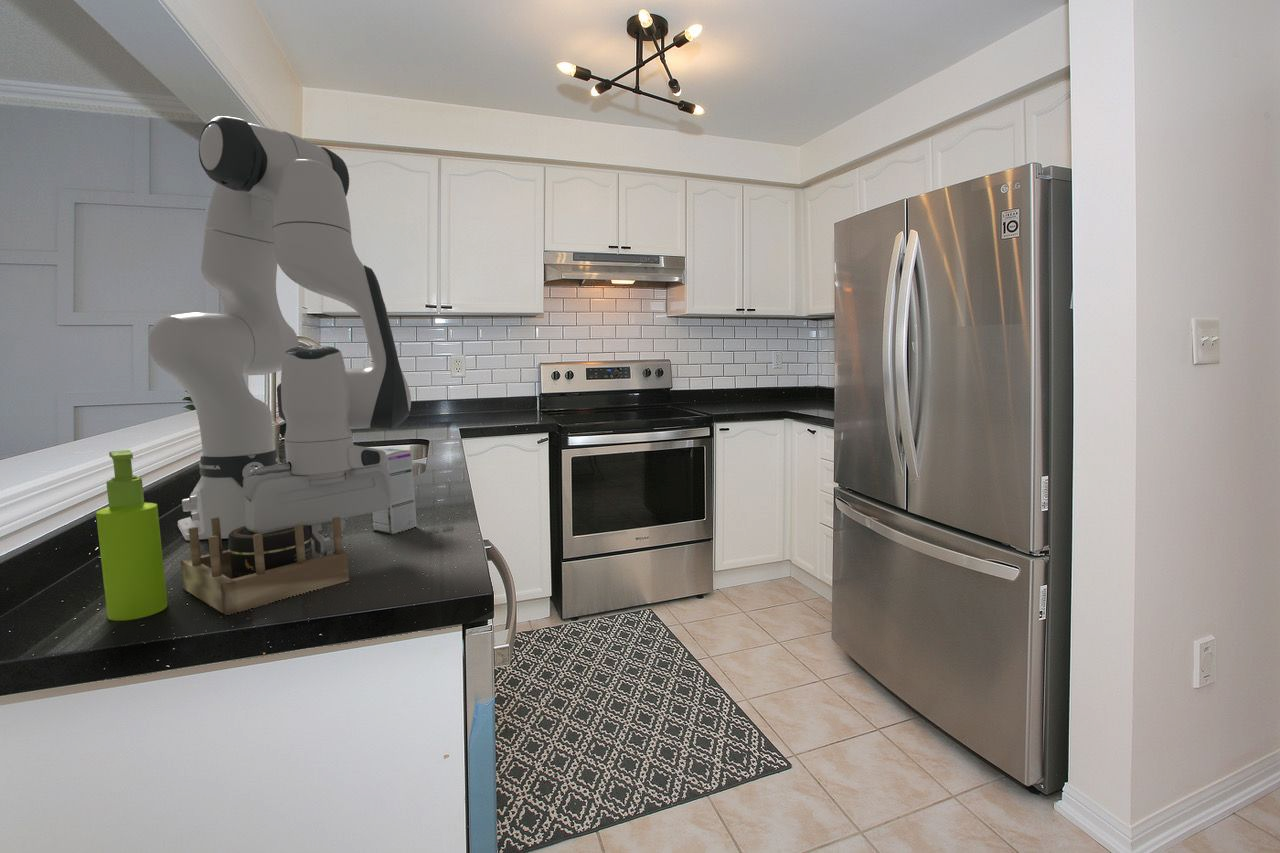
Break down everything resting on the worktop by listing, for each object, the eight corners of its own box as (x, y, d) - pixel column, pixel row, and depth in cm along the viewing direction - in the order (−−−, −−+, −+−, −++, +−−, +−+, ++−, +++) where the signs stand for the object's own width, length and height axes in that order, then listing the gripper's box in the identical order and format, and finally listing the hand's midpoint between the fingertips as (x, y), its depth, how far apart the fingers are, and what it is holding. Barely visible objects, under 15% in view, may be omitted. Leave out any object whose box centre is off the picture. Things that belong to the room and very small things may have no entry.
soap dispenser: (162, 596, 84) (147, 446, 82) (170, 611, 79) (154, 451, 77) (105, 609, 80) (87, 451, 78) (109, 625, 75) (91, 457, 73)
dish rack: (183, 588, 87) (177, 524, 86) (299, 560, 99) (294, 502, 98) (227, 615, 78) (220, 543, 77) (349, 580, 90) (344, 517, 89)
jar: (215, 594, 85) (209, 538, 84) (259, 569, 95) (255, 519, 94) (290, 593, 85) (285, 536, 84) (327, 568, 95) (323, 517, 94)
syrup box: (418, 527, 117) (413, 448, 116) (390, 535, 112) (385, 453, 111) (397, 523, 120) (393, 446, 119) (370, 531, 115) (364, 451, 114)
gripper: (251, 471, 83) (260, 574, 84) (395, 451, 99) (400, 538, 101) (232, 466, 87) (240, 565, 88) (373, 448, 103) (379, 532, 104)
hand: (327, 551), depth 95 cm, fingers closed
